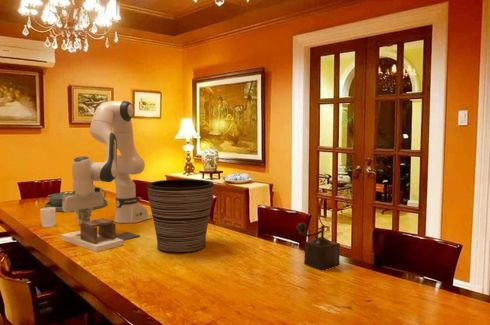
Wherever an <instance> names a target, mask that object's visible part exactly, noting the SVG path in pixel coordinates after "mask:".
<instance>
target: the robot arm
mask: <svg viewBox="0 0 490 325" xmlns="http://www.w3.org/2000/svg"><path fill="white" fill-rule="evenodd" d="M93 109H94V110H93V115H92V119H91V122H90V126H89V133H90V134H91V136H92V138H93V139H94V140H96V141H97V142H100V143H102V144H104V145H105V146H106V151H105V152H106V153H105V154H106V155H105V156H106V157H105V161H103V162H102V161H99V162H97V161H92V160H91V159H90V157H89V156H85V155H84V156H78V157H75V158H74V159H72V163H71V164H72V166H71V177H72V180H73V182H72V191H73V192H67V191H65V192H66V193H65V194H63V196H62V200H63V202H62V210H63V211H65V212H64V213H71V212H70V211H74V212H73V213H74V214H75V215H76V219H77V220H78V219H81V215H79V214H78V212H79V210H81V209H86V208H88V209H89V210H88V211H89V212H90V218H91V217H92V212H93V211H94V210H93V207H97V206H102V205H103V203H104V201H103V197H104V193H103V191H102V189H103V188H102V187H99V186H96V185H94V186H92V181H93V182H104V183H111V182H113V181H114V184H115V196H116V197H115V216H114V220H113V223H119V224H120V223H121V224H131V223H132V224H136V223H139V222H144V221H147V220H150V219H153V216H152V215H150V214H149V213H148V211H149V210H148V208H146V206H144V205H143V204H142V203H140V202H139V201H141V200H142V199H143V198H142V197H141V196H136V183H135V181H133V180H132V178H131V177H130V175H132V176H133V175H139V174H141V173H143V172H144V170H145V167H146V164H145V160H144V159H143V158H142V157H141V156H140V155H139V153H138V151H137V149H136V147H135V140H134V129H133V123H132V118H133V117H134V114H135V108H134V106H133V104H132V102H130V101H127V100H112V101H110V100H109V101H101V102H98V103H97V104H95V106H94V108H93ZM118 151H119V153H120V154H117V153H118Z"/></svg>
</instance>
